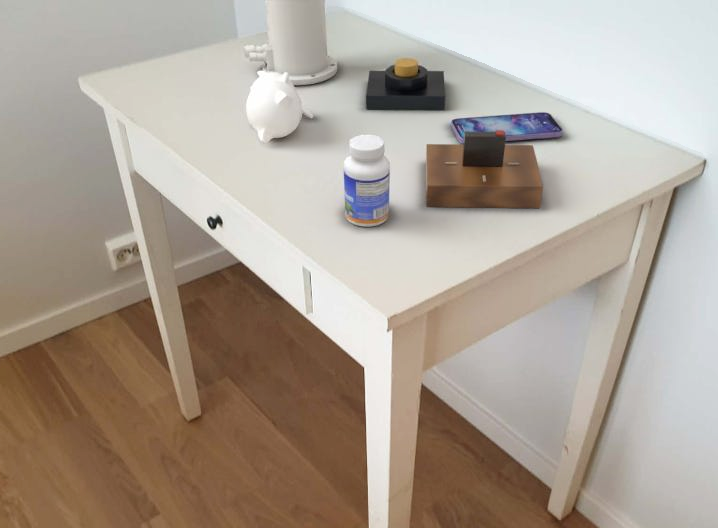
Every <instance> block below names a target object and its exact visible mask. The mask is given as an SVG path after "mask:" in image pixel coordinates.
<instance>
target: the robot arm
mask: <svg viewBox="0 0 718 528" xmlns="http://www.w3.org/2000/svg"><path fill="white" fill-rule="evenodd" d="M264 6H265V17H266V26H267V34H268V42H267V43H263V45H250V44H249V45H247V44H246V45H244V48H243V49H244V51H243V52H244V58H249V62H263V64H262V71H265V72H266V73H270V72H276V73H280V74H284V73H285V72H288V73H289V79H290V81H291V82H292V83H293V85H294V86H307V85H314V84H319V83H322V82H325V81H328V80H329V79H331V78H333V77H334V76H335V75H336V74H337V72H338V62H337V60H336V59H335V58H334V57H332V56H331V55H328V42H327V40H328V39H327V21H326V20H327V19H326V18H327V17H326V3H325V0H264Z"/></svg>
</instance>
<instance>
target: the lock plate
mask: <svg viewBox="0 0 718 528" xmlns="http://www.w3.org/2000/svg"><path fill="white" fill-rule="evenodd" d="M463 145H464V144H463V143H460V144H455V143H453V144H449V143H445V144H444V143H441V144H440V143H427V144H426V147H425V206H426V207H427V208H486V209H487V208H489V209H490V208H491V209H494V208H495V209H497V208H498V209H540V208H541V205H542V197H543V191H544V183H543V180H542V175H541V172H540V168H539V164H538V159H537V155H536V152H535V147H534V145H533V144H505V151H504V159H503V166H502V167H497V166H463V164H462V158H463Z"/></svg>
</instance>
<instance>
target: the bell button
mask: <svg viewBox="0 0 718 528" xmlns="http://www.w3.org/2000/svg"><path fill="white" fill-rule="evenodd" d="M394 65H395V75H397V76H402V77H410V76H415V75H417V74H418V65H419V60H417V59H415V58H412V57H411V58H410V57H404V58H398V59H396V60H395V61H394Z"/></svg>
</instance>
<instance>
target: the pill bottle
mask: <svg viewBox="0 0 718 528" xmlns="http://www.w3.org/2000/svg"><path fill="white" fill-rule="evenodd" d="M348 146H349V147H348V153H349V155H348V156H347V157H346V158H345V160H344V162H343V185H344V186H343V187H344V188H343V189H344V192H343V193H344V214H345V218H346V220H347V221H348V222H349V223H350V224H352V225H354V226H358V227H363V228H364V227H365V228H366V227H367V228H370V227H376V226H380V225H382V224H383V223H385V222H386V221H387V220H388V218H389V217H390V179H391V178H390V176H391V164H390V160H389V158H388V157H387V156H386V155H385V141H384V139H383V138H382V137H381V136H378V135H375V134H359V135H355V136H353V137H352V138H351V139H350V140H349V143H348Z"/></svg>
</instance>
